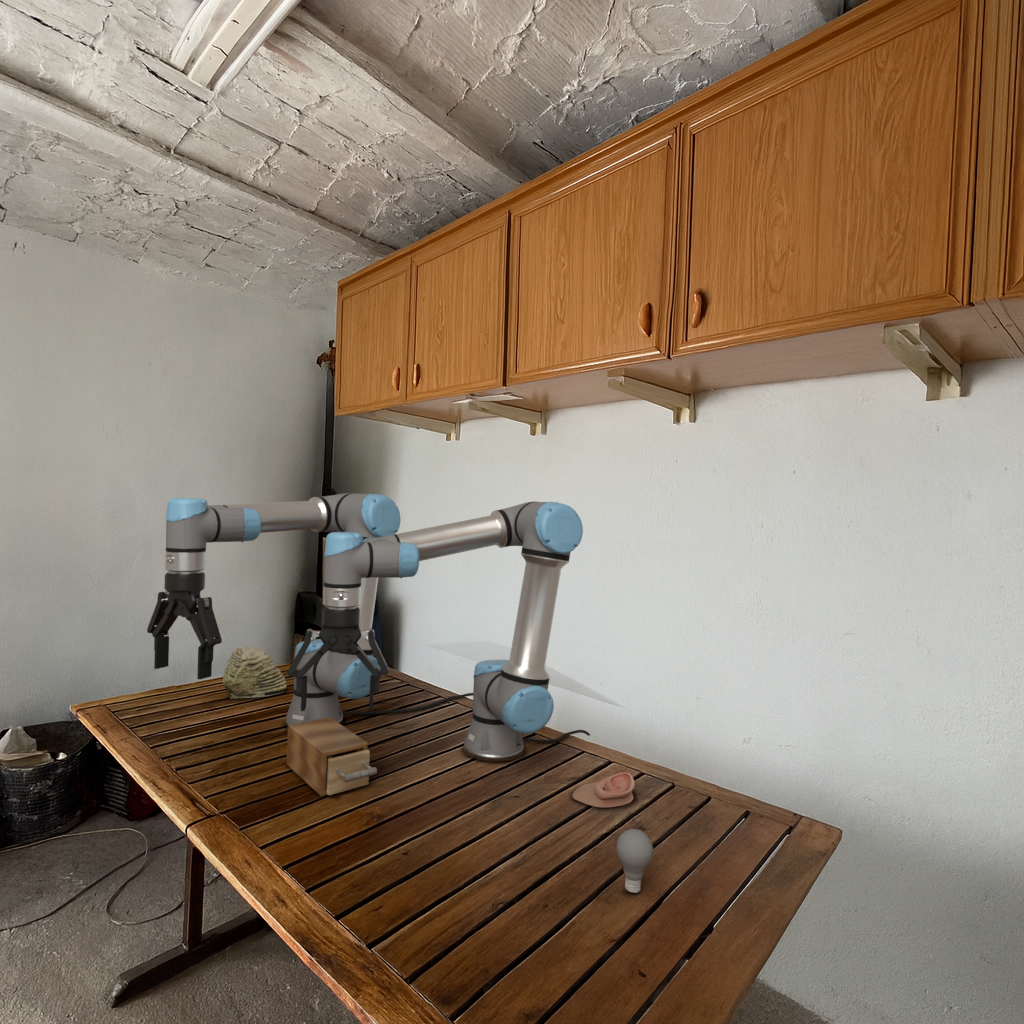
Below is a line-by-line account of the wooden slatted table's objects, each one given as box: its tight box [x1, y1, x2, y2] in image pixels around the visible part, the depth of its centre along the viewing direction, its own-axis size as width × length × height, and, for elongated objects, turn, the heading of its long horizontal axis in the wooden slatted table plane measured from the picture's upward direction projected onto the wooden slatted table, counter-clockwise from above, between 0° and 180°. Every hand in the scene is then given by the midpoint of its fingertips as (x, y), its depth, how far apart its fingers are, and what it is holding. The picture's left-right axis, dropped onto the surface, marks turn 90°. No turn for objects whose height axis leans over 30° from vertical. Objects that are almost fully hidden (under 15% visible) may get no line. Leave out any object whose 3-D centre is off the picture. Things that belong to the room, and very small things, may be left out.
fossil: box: [222, 646, 288, 699], centre depth 198 cm, size 9×18×15 cm, turn 132°
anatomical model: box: [571, 771, 636, 809], centre depth 139 cm, size 13×4×12 cm
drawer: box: [326, 749, 378, 796], centre depth 140 cm, size 24×9×7 cm, turn 40°
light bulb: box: [615, 828, 654, 894], centre depth 106 cm, size 6×6×10 cm
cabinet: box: [286, 717, 368, 797], centre depth 145 cm, size 20×10×9 cm, turn 40°
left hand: (182, 672), depth 133 cm, fingers open, 13 cm apart
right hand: (337, 708), depth 132 cm, fingers open, 13 cm apart
